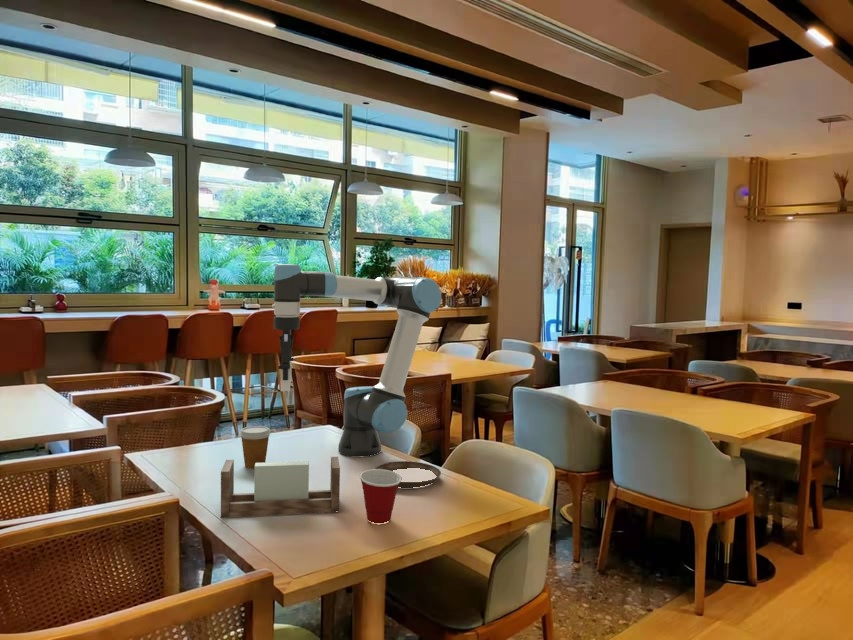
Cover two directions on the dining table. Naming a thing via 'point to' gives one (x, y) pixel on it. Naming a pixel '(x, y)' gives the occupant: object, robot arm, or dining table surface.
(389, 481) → the plastic cup
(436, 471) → the plant saucer
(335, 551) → the dining table surface
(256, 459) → the disposable coffee cup
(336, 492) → the wooden rack
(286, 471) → the white flat block
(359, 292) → the robot arm
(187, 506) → the dining table surface
